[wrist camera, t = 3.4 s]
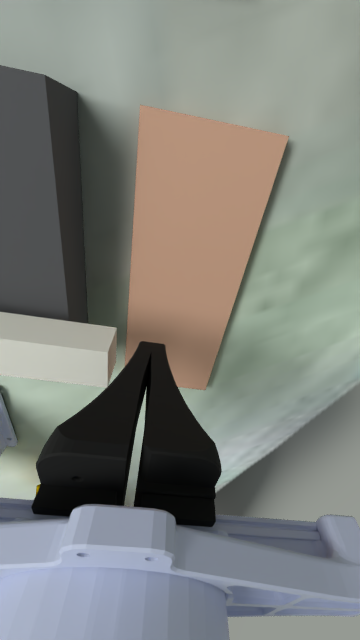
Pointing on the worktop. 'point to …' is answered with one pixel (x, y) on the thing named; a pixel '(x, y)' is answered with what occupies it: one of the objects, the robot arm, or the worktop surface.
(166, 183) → the mat
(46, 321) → the strap
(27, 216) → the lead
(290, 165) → the worktop surface
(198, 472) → the robot arm
